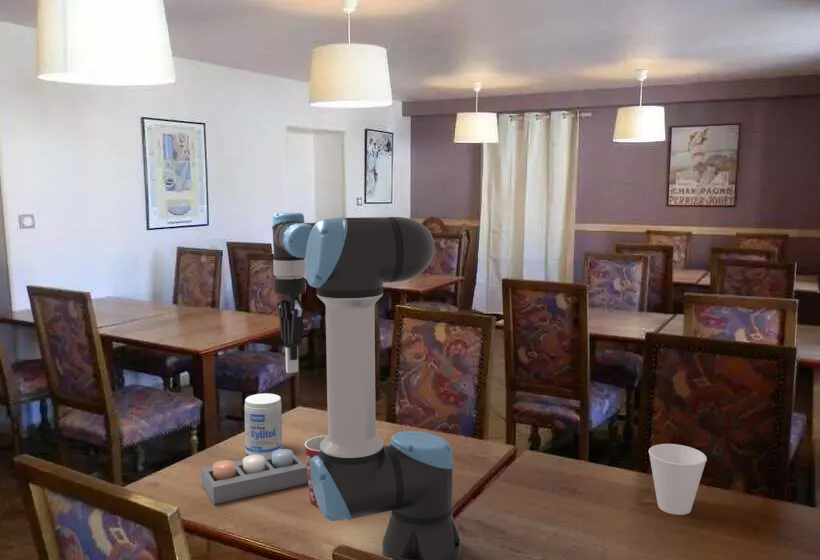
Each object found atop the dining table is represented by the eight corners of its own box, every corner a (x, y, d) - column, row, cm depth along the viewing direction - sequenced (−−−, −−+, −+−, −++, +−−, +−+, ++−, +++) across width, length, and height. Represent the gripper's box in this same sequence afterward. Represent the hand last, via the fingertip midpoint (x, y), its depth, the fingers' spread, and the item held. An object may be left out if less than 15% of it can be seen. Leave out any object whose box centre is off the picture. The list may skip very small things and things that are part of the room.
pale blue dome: (296, 468, 165) (295, 454, 165) (276, 472, 163) (275, 458, 162) (289, 461, 169) (288, 447, 169) (269, 465, 167) (269, 451, 167)
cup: (667, 523, 144) (670, 467, 142) (635, 498, 155) (637, 446, 154) (715, 516, 147) (719, 461, 145) (680, 492, 159) (683, 441, 157)
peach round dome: (238, 480, 158) (237, 466, 158) (216, 485, 156) (215, 470, 155) (232, 472, 163) (231, 458, 162) (211, 477, 160) (210, 462, 160)
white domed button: (267, 474, 162) (267, 460, 161) (246, 479, 159) (246, 464, 159) (261, 467, 166) (260, 453, 166) (240, 471, 164) (240, 457, 163)
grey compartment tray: (307, 483, 163) (307, 467, 163) (213, 504, 153) (213, 487, 152) (290, 465, 174) (289, 450, 173) (201, 483, 163) (200, 467, 162)
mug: (334, 512, 149) (333, 452, 147) (298, 504, 152) (296, 446, 150) (360, 488, 160) (359, 433, 159) (326, 482, 164) (325, 427, 162)
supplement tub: (250, 461, 176) (249, 406, 174) (241, 449, 184) (239, 396, 182) (287, 454, 181) (285, 400, 179) (276, 442, 189) (275, 390, 187)
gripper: (314, 278, 162) (316, 375, 165) (294, 272, 173) (297, 363, 177) (284, 281, 159) (286, 380, 162) (266, 274, 170) (268, 367, 173)
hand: (292, 371), depth 169 cm, fingers closed
